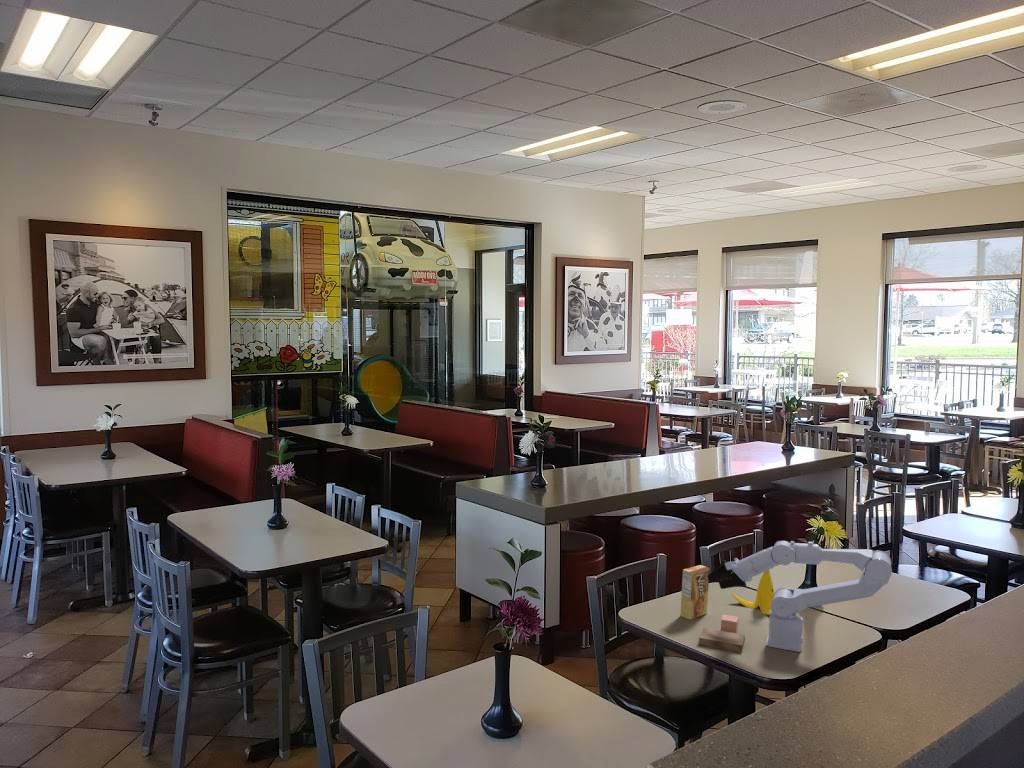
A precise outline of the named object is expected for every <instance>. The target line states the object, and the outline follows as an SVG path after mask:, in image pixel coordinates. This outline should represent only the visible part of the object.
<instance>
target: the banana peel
mask: <svg viewBox="0 0 1024 768" xmlns="http://www.w3.org/2000/svg"><path fill="white" fill-rule="evenodd" d="M773 584H774V583H773V579H772V577H771V573H770V570H767V571H765V572H763V573H762V575H761V577H760V579H759V583H758V586H757V589H756V596H755V597H756V598H755V600H754V601H749V600H745V599H743V598H741V597H740V596H738V595H736V594H735V593H734V592H732V593H731V596H733V598H734V599H736V601H738V602H739V603H740V604H741V605H742V606H743V607H744V606H745V608H747V609H752V610H753V609H756V608H758V607H759V609H760V612H761V614H763V615H766V616H768V615H769V616H770V610H771V602H772V600H773V598H774V594H775V589H774V585H773Z"/></svg>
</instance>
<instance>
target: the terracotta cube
mask: <svg viewBox="0 0 1024 768" xmlns="http://www.w3.org/2000/svg"><path fill="white" fill-rule="evenodd" d="M738 630H739V616H735V615H729V614H722V616H721V623H720V631H725V632H731V633H737V634H738Z"/></svg>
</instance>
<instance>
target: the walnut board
mask: <svg viewBox="0 0 1024 768" xmlns="http://www.w3.org/2000/svg"><path fill="white" fill-rule="evenodd" d="M698 639H699V640H698V641H699V642H698V645H701V646H706V647H712V648H717V649H724V650H729V651H734V652H738V653H743V650H744V646H745V645H744V644H745V643H746V635H745V634H741V633H738V632H737V633H731V632H725V631H721V630H718V629H714V628H708V627H703V628H702V630H701V633H700V635H699V638H698Z"/></svg>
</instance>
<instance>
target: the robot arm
mask: <svg viewBox="0 0 1024 768" xmlns="http://www.w3.org/2000/svg"><path fill="white" fill-rule="evenodd" d="M821 562H834V563H840V564H841V563H843V564H850V565H851V564H852V565H853V566H855V567H857V569H859V570H860V571H862V574H861V576H860V577H859V578H858V579H852V580H848V581H842V582H841V581H840V582H836V583H831V584H827V585H821V586H815V587H809V588H803V589H802V588H797V587H796V588H789V587H780V588H778V589H776V591H774V598H773V600H772V602H771V610H770V615H769V623H768V634H767V636H766V637H767V638H766V641H765V642H766V643H765V647H770V648H775V649H780V650H787V651H793V652H798V653H800V652H802V644H803V642H804V641H803V640H804V637H803V625H804V622H803V621H804V618H803V617H802V616H799V615H797V614H798V613H800V612H803V611H804V610H805V609H808V608H812V607H819V606H825V605H830V604H837V603H841V602H847V601H854V600H860V599H864V598H870V597H873V596H874V595H875V594H876V593H878V591H879V590H880V589H882V588H883V587H884V586H885V585H887V584H889V581H890V579H891V577H892V574H893V569H892V559H891V557H890V556H889V554H888V553H887V552H885V551H882V550H873V549H868V548H867V549H866V548H865V549H863V548H861V549H858V548H854V549H852V548H822V547H821V546H820V545H819V544H817V543H814V541H808V543H803V542H802V543H801V542H795V541H794V540H791V541H790V542H789V541H786V540H777V541H776V542H775V543H774V545H773V546H770V547H767V548H766V549H762V550H760V551H758V552H756V553H753V554H751V555H749V556H747V557H744V558H742V559H738V558H737V557H735V558H734V561H731V560H730V561H727V560H725V559H724V560H722V561H721V562H720V563H719V565H718V566H717V567H716V568H715V569H714V570H713V571H712V572H709V575H708V579H709V583H711V584H712V583H716V582H718V584H719V588H720V589H721V590H725V589H730V588H738V587H739V588H746V587H747V583H748V582H751V581H753V577H756V576H759V575H761V574H763V573H764V572H765V571H767V570H769V571H770V570H772V569H774V568H775V567H778V566H780V565H781V566H782V565H783V566H788V565H790V564H791V563H794V564H804V565H819V564H820V563H821ZM746 582H747V583H746Z"/></svg>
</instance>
